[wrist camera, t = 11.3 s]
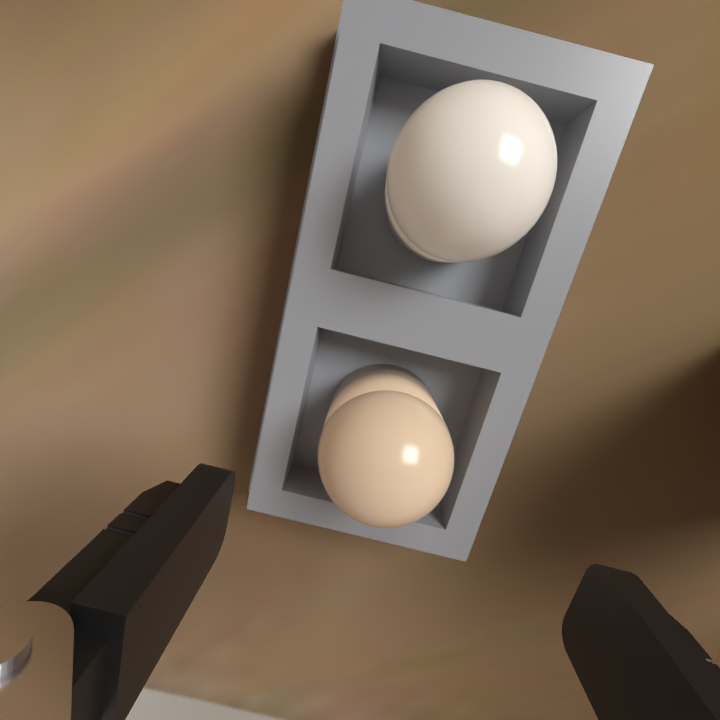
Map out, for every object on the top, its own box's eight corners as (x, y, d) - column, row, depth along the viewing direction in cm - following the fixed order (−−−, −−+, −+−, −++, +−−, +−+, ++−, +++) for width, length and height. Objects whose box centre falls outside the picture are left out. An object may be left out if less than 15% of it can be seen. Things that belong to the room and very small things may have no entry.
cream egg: (523, 150, 13) (627, 69, 8) (483, 275, 15) (550, 281, 9) (402, 119, 13) (420, 14, 8) (371, 246, 14) (367, 235, 9)
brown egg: (447, 376, 16) (490, 436, 10) (419, 472, 17) (444, 576, 11) (341, 352, 15) (324, 399, 10) (320, 450, 16) (294, 543, 11)
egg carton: (609, 94, 14) (681, 41, 11) (455, 522, 19) (472, 578, 16) (347, 25, 14) (337, -51, 11) (257, 474, 19) (231, 520, 15)
